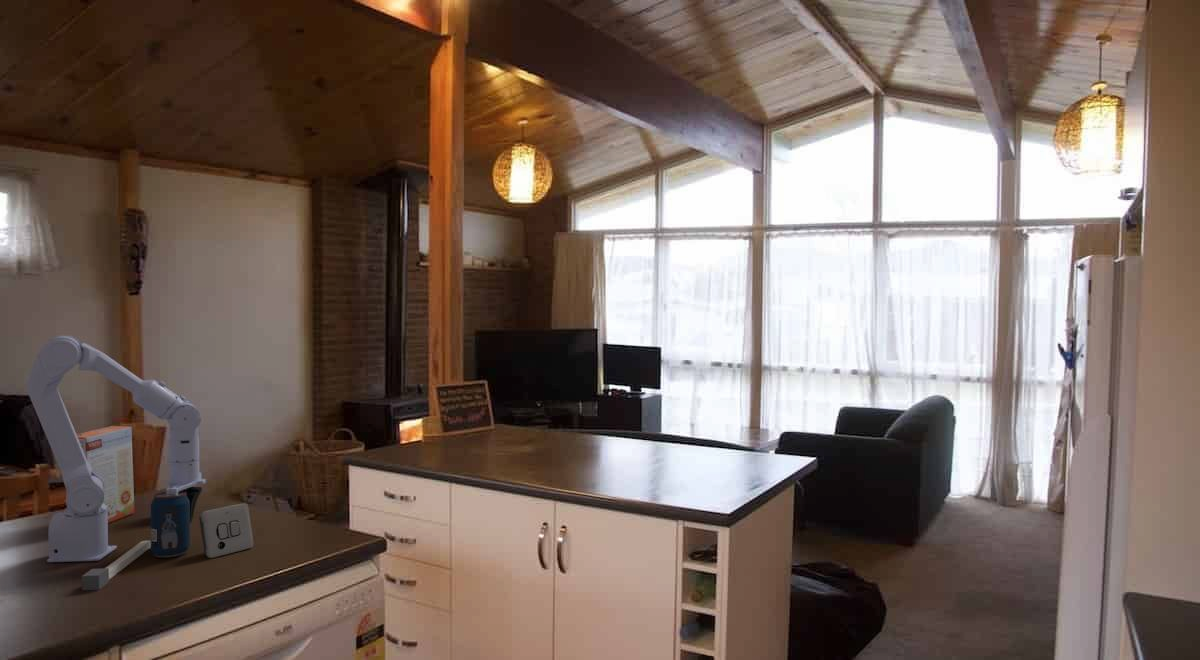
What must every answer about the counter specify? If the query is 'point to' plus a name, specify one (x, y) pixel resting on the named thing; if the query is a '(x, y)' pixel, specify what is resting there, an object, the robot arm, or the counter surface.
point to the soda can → (170, 524)
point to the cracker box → (112, 466)
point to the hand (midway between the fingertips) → (185, 523)
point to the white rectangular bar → (112, 568)
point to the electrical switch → (226, 530)
